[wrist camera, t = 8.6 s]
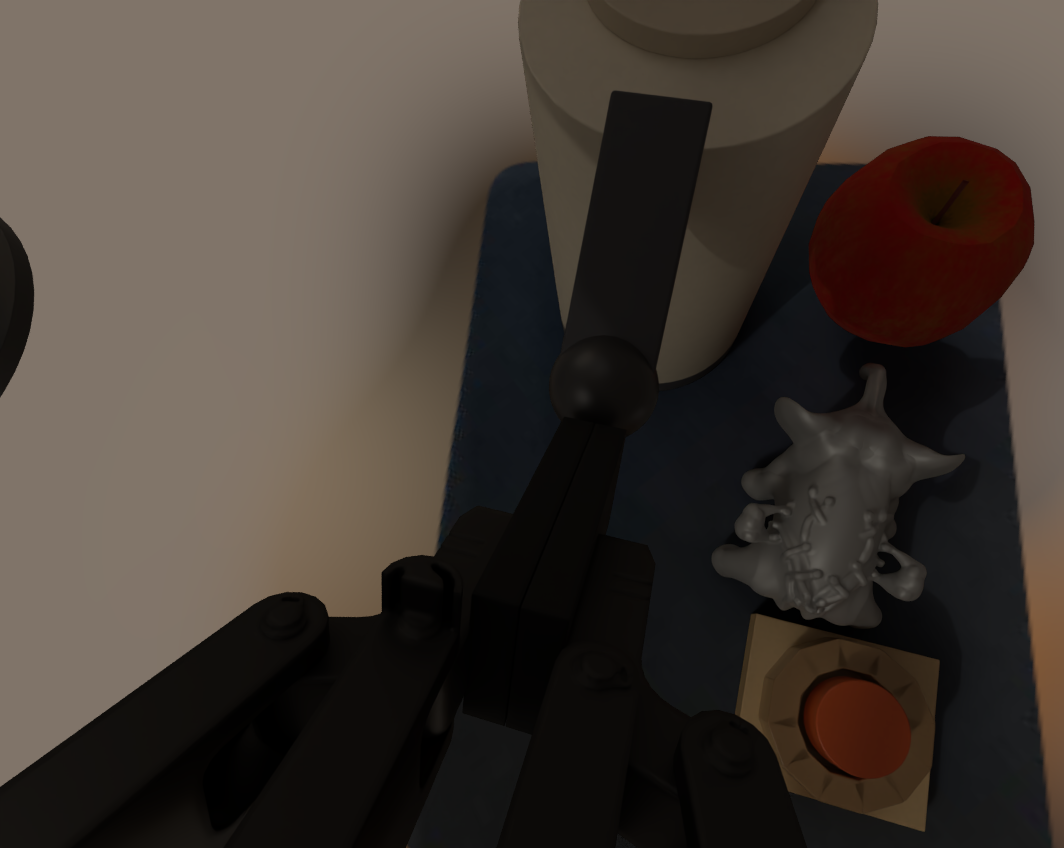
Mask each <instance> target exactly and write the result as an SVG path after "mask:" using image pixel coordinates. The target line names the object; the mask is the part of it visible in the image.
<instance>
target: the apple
mask: <svg viewBox="0 0 1064 848" xmlns="http://www.w3.org/2000/svg"><path fill="white" fill-rule="evenodd" d="M1033 245H1034V214H1033V206H1032V198H1031V189H1030V186H1029V184H1028V183H1027V181H1026V179H1025V178H1024V176H1023V174H1022V173H1021V171H1020V169H1019V167H1018V166H1017V164H1016V163H1015V162H1014V161H1012V160H1011V159H1010V158H1008V157H1007V156H1006V155H1004V154H1003V153H1002V152H1000V151H999V150H998V149H995V148H992V147H989V146H986V145H982V144H980V143H977V142H974V141H970V140H967V139H964V138H961V137H936V136H928V137H924V138H921V139H917V140H914V141H911V142H908V143H905V144H902V145H899V146H896V147H894V148H890V149H888V150H886V151H885V152H883V153H882V154H881V155H879V156H878V157H876V158H875V159H874V160H873V161H871V162H870V163H868V164H867V165H865V166H864V167H863V168H861V169H860V170H859V171H857V172H856V173H854V174H853V175H852V176H851V177H849V178H848V179H847V180H845V181H844V183H843V184H842V185H841V186H840V187H839V188H838V189H837V190H836V191H835V192H834V193H833V194H832V195H831V197H830V198H829V199H828V200H827V201H826V203H825V205H824V207H823V209H822V210H821V212H820V214H819V216H818V218H817V221H816V224H815V227H814V230H813V233H812V236H811V239H810V242H809V273H810V277H811V281H812V285H813V288H814V290H815V292H816V294H817V297H818V299H819V301H820V302H821V304H822V306H823V308H824V309H825V311H826V313H827V314H828V316H829V317H830V318H831V319H832V320H833V321H834V322H835V323H836V324H838V325H839V326H841V327H842V328H843V329H845V330H846V331H848V332H850V333H852V334H854V335H856V336H859V337H861V338H863V339H865V340H867V341H872V342H877V343H883V344H889V345H895V346H901V347H912V346H921V345H926V344H929V343H931V342H934V341H937V340H939V339H942V338H944V337H946V336H948V335H951V334H953V333H955V332H957V331H959V330H962V329H964V328H965V327H966V326H967V325H968V324H970V323H971V322H972V321H973V320H974V319H976V318H977V317H978V316H979V315H980V314H982V313H983V312H984V311H985V310H986V309H988V308H989V307H990V306H991V305H992V304H994V303H995V302H996V301H997V300H998V299H1000V298H1001V297H1002V295H1003V294H1004V293H1005V292H1006V290H1007V289H1008V288H1009V286H1010V285H1011V284H1012V282H1013V281H1014V280H1015V278H1016V277H1017V276H1018V274H1019V273H1020V272H1021V271H1022V269H1023V268H1024V266H1025V264H1026V262H1027V259H1028V258H1029V255H1030V253H1031V249H1032V247H1033Z"/></svg>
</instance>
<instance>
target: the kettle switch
mask: <svg viewBox="0 0 1064 848" xmlns="http://www.w3.org/2000/svg"><path fill="white" fill-rule="evenodd" d="M712 107H713V106H712V103H711V102H707V101H699V100H691V99H682V98H674V97H666V96H658V95H650V94H641V93H633V92H625V91H617V90H615V91H612V93H611V96H610V101H609V106H608V111H607V116H606V122H605V127H604V132H603V137H602V142H601V147H600V153H599V158H598V163H597V168H596V173H595V178H594V183H593V189H592V194H591V199H590V204H589V209H588V214H587V220H586V225H585V230H584V235H583V240H582V245H581V251H580V256H579V261H578V266H577V271H576V276H575V281H574V287H573V292H572V297H571V302H570V307H569V312H568V318H567V323H566V328H565V333H564V338H563V343H562V348H561V354H560V355H559V356H558V358H557V360H556V362H555V363H554V366H553V368H552V371H551V375H550V381H549V393H550V399H551V403H552V406H553V408H554V411H555V413H556V414H557V416H558V418H559V419H560V420H561V421H562V419H563V418H564V417H569V418H574V419H578V420H583V421H588V422H592V423H595V424H596V423H597V424H602V425H606V426H611V427H616V428H620V429H625V430H627V432H626V437H627V436H629V435H630V434H632V433H634V432H635V431H637V430H638V429H639V428H640V427H641V426H642V425H644V424H645V422H646V421H647V420H648V419H649V417H650V416H651V414H652V412H653V410H654V408H655V406H656V403H657V399H658V393H659V380H658V374H657V370H656V367H657V362H658V358H659V353H660V348H661V344H662V339H663V334H664V330H665V325H666V321H667V316H668V311H669V307H670V302H671V297H672V293H673V288H674V284H675V279H676V274H677V270H678V265H679V261H680V256H681V251H682V247H683V242H684V237H685V233H686V228H687V224H688V219H689V214H690V210H691V205H692V201H693V196H694V191H695V187H696V182H697V177H698V173H699V168H700V164H701V159H702V154H703V150H704V145H705V141H706V136H707V131H708V127H709V122H710V117H711V112H712ZM595 424H594V426H595Z"/></svg>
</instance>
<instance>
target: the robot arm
mask: <svg viewBox="0 0 1064 848" xmlns="http://www.w3.org/2000/svg"><path fill="white" fill-rule="evenodd" d="M594 424H595V423H592V422H588V421H583V420H578V419H574V418H569V417H564V418H563V419H562V421H561V423H560V425H559V427H558V429H557V431H556V433H555V435H554V437H553V439H552V441H551V443H550V444H549V446H548V448H547V450H546V452H545V454H544V456H543V458H542V460H541V462H540V464H539V466H538V468H537V469H536V471H535V473H534V475H533V477H532V479H531V481H530V483H529V485H528V487H527V489H526V491H525V493H524V494H523V496H522V498H521V500H520V502H519V504H518V506H517V508H516V510H515V512H514V514H510V513H506V512H502V511H498V510H494V509H490V508H486V507H482V506H476V507H475V508H473V509H471V510H470V511H468V512H467V513H465V514H463V515H462V516H460V517H459V519H458V520H457V522H456V523H455V525H454V526H453V528H452V530H451V531H450V533H449V536H447V537H446V539H445V540H444V542H443V543H442V545H441V548H439V550H438V551H437V553H436V554H435V556H434V557H433V556H425V555H418V556H411V557H405V558H403V559H400V560H398V561H396V562H393V563H391V564H390V565H389V566H388V567H387V568H386V569H385V570H384V571H383V572H382V612H381V614H378V615H374V616H369V617H328V613H327V610H326V607H325V605H324V604H323V603H322V602H321V601H320V600H319V599H317V598H316V597H314V596H311V595H308V594H305V593H302V592H301V593H300V592H285V593H281V594H276V595H272V596H269V597H267V598H265V599H263V600H261V601H259V602H258V603H256V604H254V605H252V606H251V607H250V608H248V609H247V610H246V611H244V612H243V613H241V614H240V615H239V616H237V617H236V618H234V619H233V620H232V621H230V622H229V623H228V624H226V625H225V626H223V627H222V628H220V629H219V630H218V631H217V632H215V633H214V634H212V635H211V636H209V637H208V638H207V639H205V640H204V641H202V642H201V643H200V644H198V645H197V646H195V647H194V648H193V649H191V650H190V651H189V652H187V653H186V654H184V655H183V656H182V657H180V658H179V659H177V660H176V661H175V662H173V663H172V664H170V665H169V666H168V667H166V668H165V669H164V670H162V671H161V672H159V673H158V674H157V675H155V676H154V677H152V678H151V679H150V680H148V681H147V682H145V683H144V684H143V685H141V686H140V687H139V688H137V689H136V690H134V691H133V692H132V693H130V694H129V695H127V696H126V697H125V698H123V699H122V700H120V701H119V702H118V703H116V704H115V705H113V706H112V707H111V708H109V709H108V710H107V711H105V712H104V713H102V714H101V715H100V716H98V717H97V718H95V719H94V720H93V721H91V722H90V723H88V724H87V725H86V726H84V727H83V728H81V729H80V730H79V731H77V732H76V733H75V734H73V735H72V736H70V737H69V738H68V739H66V740H65V741H63V742H62V743H61V744H59V745H58V746H56V747H55V748H54V749H52V750H51V751H50V752H48V753H47V754H45V755H44V756H43V757H41V758H40V759H39V760H37V761H36V762H34V763H33V764H32V765H30V766H29V767H27V768H26V769H25V770H23V771H22V772H20V773H19V774H18V775H16V776H15V777H13V778H12V779H11V780H9V781H8V782H6V783H5V784H4V785H2V786H1V787H0V848H406V846H407V844H408V841H409V839H410V837H411V834H412V832H413V830H414V827H415V825H416V822H417V820H418V818H419V815H420V813H421V811H422V808H423V806H424V804H425V801H426V799H427V797H428V794H429V792H430V790H431V787H432V785H433V782H434V780H435V778H436V775H437V773H438V771H439V768H440V766H441V764H442V761H443V759H444V757H445V754H446V752H447V749H448V747H449V745H450V742H451V738H452V733H453V727H454V716H455V714H456V712H457V710H458V707H459V705H460V703H461V701H462V698H463V696H464V701H463V713H464V714H467V715H471V716H474V717H477V718H480V719H484V720H487V721H490V722H493V723H496V724H500V725H503V726H504V725H505V722H506V727H509V728H512V729H516V730H519V731H522V732H525V733H528V734H532V737H531V740H530V743H529V746H528V749H527V753H526V756H525V759H524V762H523V765H522V769H521V772H520V775H519V778H518V781H517V784H516V788H515V791H514V794H513V797H512V800H511V804H510V807H509V810H508V813H507V816H506V819H505V823H504V826H503V829H502V832H501V835H500V839H499V842H498V845H497V848H615V846H616V839H617V833H618V834H619V835H621V836H622V837H623V838H625V839H626V840H628V841H629V842H630V843H632V844H633V845H634V846H636V847H637V848H807V846H806V843H805V840H804V837H803V834H802V831H801V828H800V825H799V822H798V819H797V816H796V813H795V810H794V807H793V804H792V801H791V798H790V795H789V792H788V789H787V786H786V783H785V780H784V777H783V774H782V771H781V768H780V765H779V762H778V759H777V756H776V754H775V752H774V750H773V749H772V747H771V745H770V743H769V741H768V739H767V738H766V737H765V736H764V735H763V734H762V733H761V732H760V731H759V730H758V729H757V728H756V727H755V726H754V725H753V724H751V723H749V722H748V721H746V720H744V719H742V718H741V717H739V716H737V715H735V714H731V713H727V712H723V711H720V710H713V711H701V712H700V713H698V714H696V715H694V716H693V717H690V716H688V715H686V714H684V713H683V712H681V711H679V710H678V709H676V708H674V707H673V706H671V705H670V704H669V703H667V702H666V701H664V700H663V699H662V698H660V697H659V696H658V694H657V693H656V692H655V691H654V690H653V689H652V688H651V687H650V685H649V683H648V682H647V680H646V678H645V676H644V673H643V670H642V660H641V657H642V650H643V643H644V637H645V630H646V624H647V617H648V610H649V604H650V597H651V590H652V583H653V577H654V570H655V562H654V559H653V557H652V555H651V552H650V550H649V548H648V545H643V544H639V543H635V542H631V541H627V540H623V539H619V538H615V537H611V536H607V535H606V531H607V527H608V524H609V519H610V514H611V509H612V504H613V499H614V493H615V488H616V483H617V478H618V473H619V468H620V463H621V457H622V452H623V447H624V442H625V437H626V432H627V430H625V429H620V428H616V427H611V426H606V425H602V424H597V423H596V424H595V426H594ZM506 719H507V721H506Z"/></svg>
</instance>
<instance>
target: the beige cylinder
mask: <svg viewBox="0 0 1064 848" xmlns="http://www.w3.org/2000/svg"><path fill="white" fill-rule="evenodd" d="M877 13H878V0H521V1H520V5H519V17H518V28H519V40H520V47H521V53H522V60H523V66H524V73H525V80H526V86H527V93H528V100H529V107H530V113H531V120H532V126H533V133H534V140H535V146H536V153H537V160H538V167H539V173H540V180H541V187H542V193H543V200H544V207H545V213H546V220H547V227H548V233H549V240H550V247H551V253H552V260H553V267H554V273H555V280H556V287H557V293H558V300H559V307H560V313H561V320H562V325H563V329H564V333H565V328H566V323H567V318H568V312H569V307H570V302H571V297H572V292H573V287H574V281H575V276H576V271H577V266H578V261H579V256H580V251H581V245H582V240H583V235H584V230H585V225H586V220H587V214H588V209H589V204H590V199H591V194H592V189H593V183H594V178H595V173H596V168H597V163H598V158H599V153H600V147H601V142H602V137H603V132H604V127H605V122H606V116H607V111H608V106H609V101H610V96H611V93H612V91H615V90H617V91H625V92H633V93H641V94H650V95H658V96H666V97H674V98H682V99H691V100H699V101H707V102H711V103H712V106H713V107H712V112H711V117H710V122H709V127H708V131H707V136H706V141H705V145H704V150H703V154H702V159H701V164H700V168H699V173H698V177H697V182H696V187H695V191H694V196H693V201H692V205H691V210H690V214H689V219H688V224H687V228H686V233H685V237H684V242H683V247H682V251H681V256H680V261H679V265H678V270H677V274H676V279H675V284H674V288H673V293H672V297H671V302H670V307H669V311H668V316H667V321H666V325H665V330H664V334H663V339H662V344H661V348H660V353H659V358H658V362H657V367H656V370H657V374H658V380H659V391H664V390H670V389H675V388H679V387H682V386H684V385H687V384H690V383H692V382H694V381H696V380H698V379H700V378H702V377H703V376H705V375H706V374H707V373H709V372H710V371H712V370H713V369H714V368H715V367H716V366H717V365H718V364H719V363H720V362H721V361H722V360H723V358H724V357H725V356H726V355H727V353H728V352H729V350H730V349H731V347H732V345H733V343H734V341H735V339H736V337H737V335H738V333H739V330H740V328H741V326H742V324H743V322H744V320H745V317H746V315H747V313H748V311H749V309H750V307H751V304H752V302H753V300H754V298H755V296H756V294H757V291H758V289H759V287H760V285H761V283H762V281H763V279H764V276H765V274H766V272H767V270H768V268H769V266H770V263H771V261H772V259H773V257H774V255H775V253H776V250H777V248H778V246H779V244H780V242H781V240H782V237H783V235H784V233H785V231H786V229H787V227H788V224H789V222H790V220H791V218H792V216H793V214H794V211H795V209H796V207H797V205H798V203H799V201H800V199H801V196H802V194H803V192H804V190H805V188H806V186H807V183H808V181H809V179H810V177H811V175H812V173H813V170H814V168H815V166H816V164H817V162H818V160H819V157H820V155H821V153H822V151H823V149H824V147H825V144H826V142H827V140H828V138H829V136H830V134H831V131H832V129H833V127H834V125H835V123H836V121H837V118H838V116H839V114H840V112H841V110H842V108H843V106H844V103H845V101H846V99H847V97H848V95H849V93H850V90H851V88H852V86H853V84H854V82H855V80H856V77H857V75H858V73H859V71H860V69H861V67H862V64H863V62H864V60H865V58H866V55H867V53H868V51H869V48H870V46H871V44H872V41H873V37H874V33H875V28H876V25H877Z"/></svg>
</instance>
